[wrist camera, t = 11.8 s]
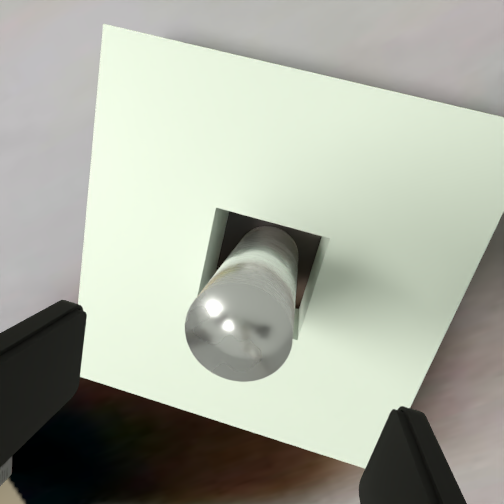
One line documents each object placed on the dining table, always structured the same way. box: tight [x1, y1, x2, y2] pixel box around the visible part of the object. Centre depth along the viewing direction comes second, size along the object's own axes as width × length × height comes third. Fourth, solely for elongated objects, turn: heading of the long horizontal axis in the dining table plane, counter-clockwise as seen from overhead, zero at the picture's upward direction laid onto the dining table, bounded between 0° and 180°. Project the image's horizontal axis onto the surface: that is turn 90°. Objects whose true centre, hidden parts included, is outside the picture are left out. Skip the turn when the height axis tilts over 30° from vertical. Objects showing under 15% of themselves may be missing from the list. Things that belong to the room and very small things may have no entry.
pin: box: [185, 226, 299, 382], centre depth 17 cm, size 4×4×10 cm
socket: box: [78, 24, 504, 468], centre depth 20 cm, size 20×20×4 cm
